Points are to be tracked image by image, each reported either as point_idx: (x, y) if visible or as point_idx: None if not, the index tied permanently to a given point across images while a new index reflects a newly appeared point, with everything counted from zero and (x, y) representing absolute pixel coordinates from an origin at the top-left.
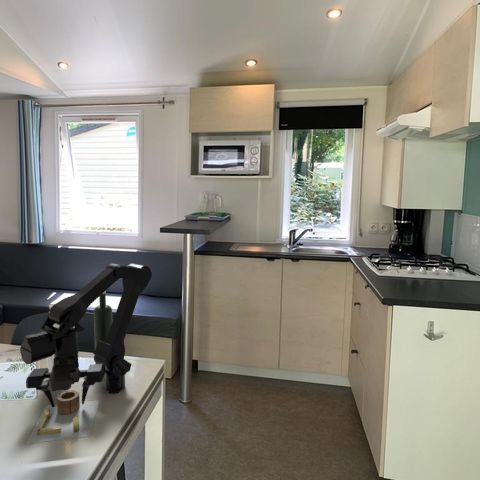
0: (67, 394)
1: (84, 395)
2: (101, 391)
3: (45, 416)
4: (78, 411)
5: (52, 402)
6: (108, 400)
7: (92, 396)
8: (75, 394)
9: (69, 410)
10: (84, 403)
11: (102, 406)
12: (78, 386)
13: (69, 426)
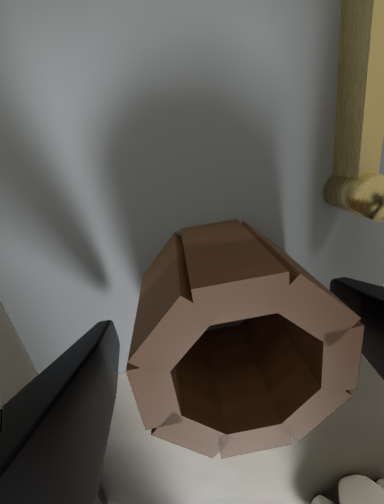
0: (268, 403)
1: (36, 389)
2: (105, 460)
3: (374, 142)
4: (132, 266)
5: (376, 293)
6: (11, 397)
7: (135, 422)
8: (172, 401)
9: (186, 238)
10: None
11: (13, 343)
12: (246, 480)
13: (105, 32)
